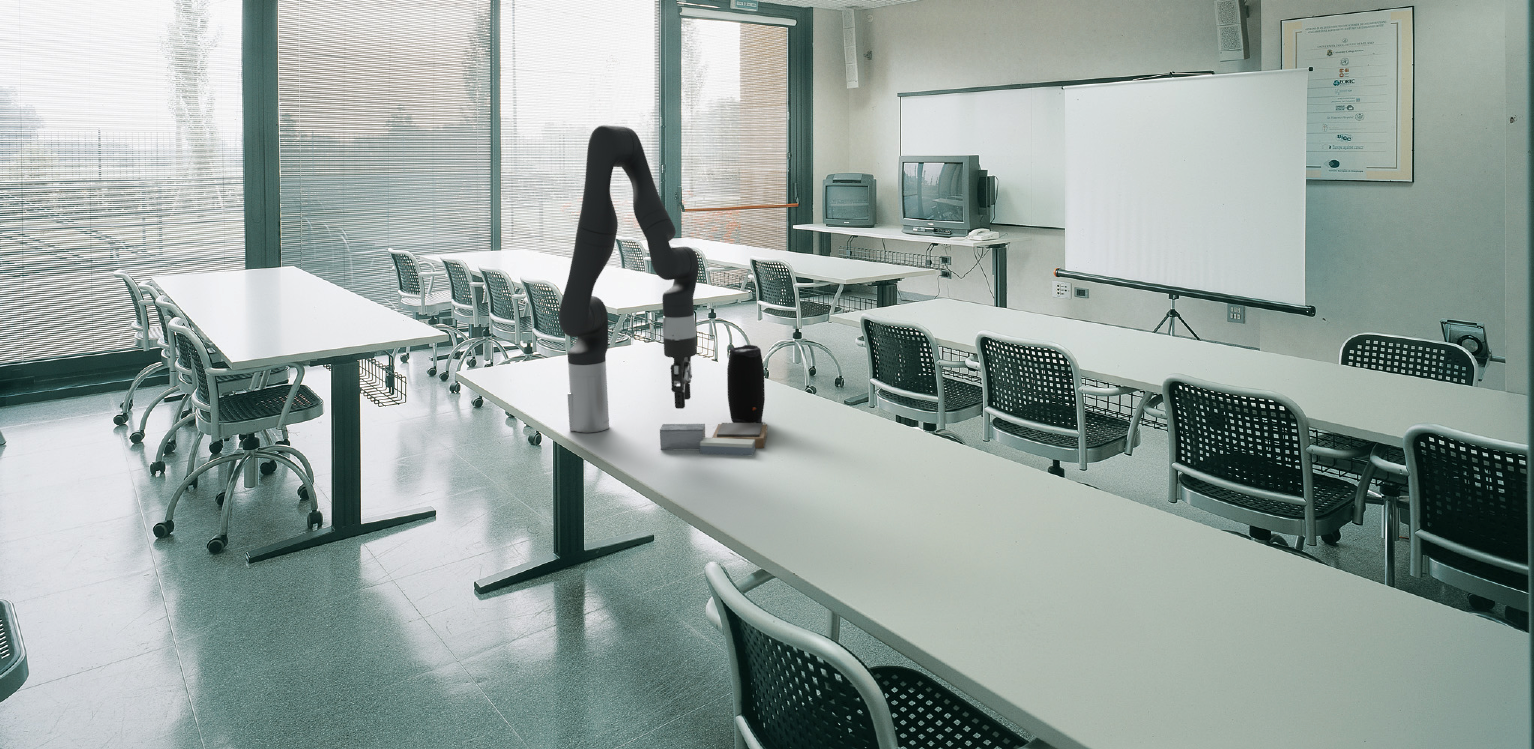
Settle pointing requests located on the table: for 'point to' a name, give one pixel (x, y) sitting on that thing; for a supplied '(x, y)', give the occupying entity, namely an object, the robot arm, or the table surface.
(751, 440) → the eraser
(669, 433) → the block
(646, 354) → the table surface
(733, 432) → the stand
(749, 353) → the portable speaker
